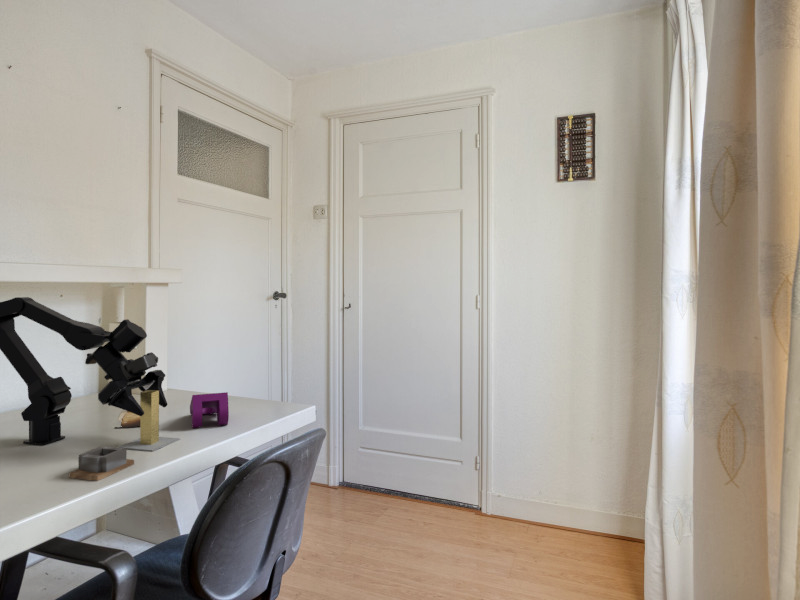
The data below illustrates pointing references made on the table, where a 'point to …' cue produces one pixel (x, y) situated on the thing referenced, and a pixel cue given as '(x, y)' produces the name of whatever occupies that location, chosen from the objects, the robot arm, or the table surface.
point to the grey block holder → (101, 463)
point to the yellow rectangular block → (149, 417)
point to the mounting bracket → (209, 408)
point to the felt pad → (145, 447)
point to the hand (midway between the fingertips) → (154, 410)
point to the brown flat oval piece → (129, 420)
